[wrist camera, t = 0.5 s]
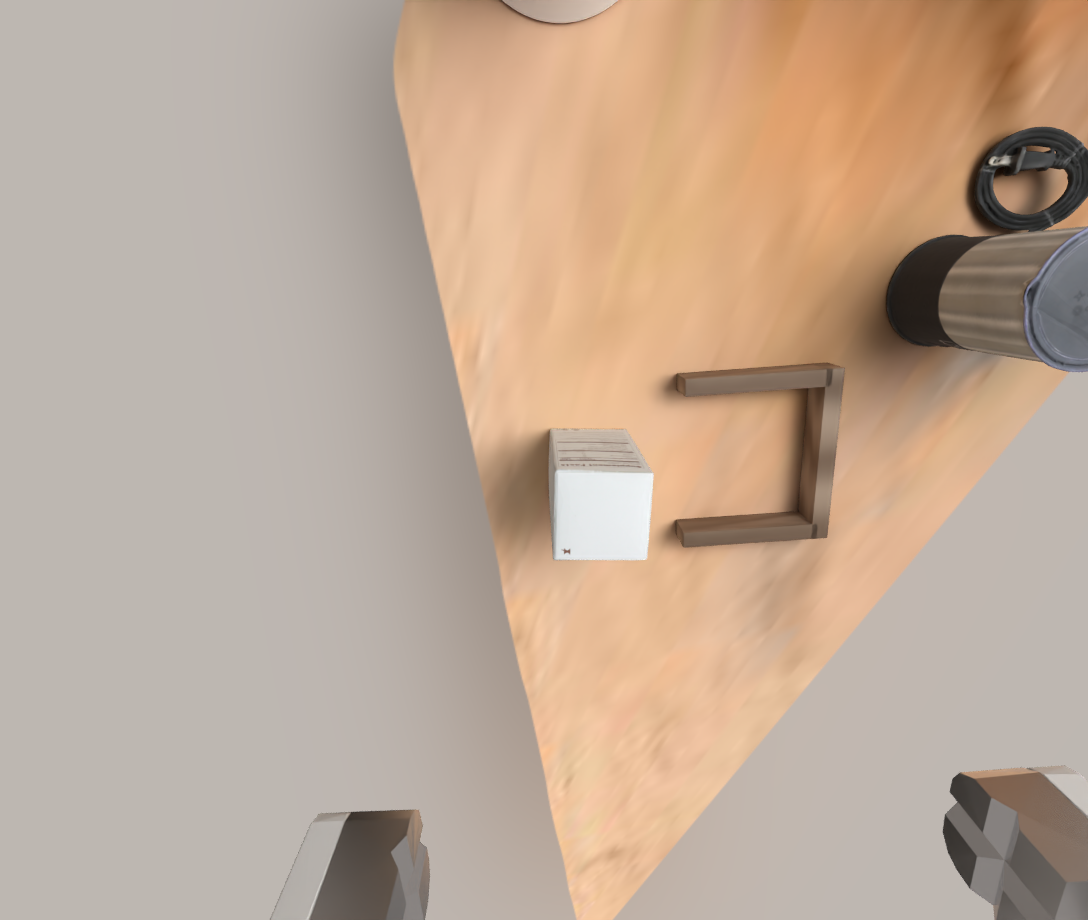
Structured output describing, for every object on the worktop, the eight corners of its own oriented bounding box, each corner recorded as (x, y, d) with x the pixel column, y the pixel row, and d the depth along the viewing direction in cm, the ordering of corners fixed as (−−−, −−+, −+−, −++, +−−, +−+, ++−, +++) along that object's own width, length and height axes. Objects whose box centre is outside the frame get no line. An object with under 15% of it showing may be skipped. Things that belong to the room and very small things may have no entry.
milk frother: (883, 355, 49) (1022, 387, 35) (880, 163, 44) (1040, 110, 30) (1046, 322, 48) (1255, 339, 34) (1061, 122, 43) (1314, 47, 29)
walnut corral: (677, 373, 49) (685, 379, 46) (827, 362, 49) (844, 367, 46) (675, 533, 54) (683, 547, 51) (811, 524, 54) (826, 537, 51)
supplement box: (623, 500, 53) (648, 564, 41) (547, 498, 53) (550, 563, 41) (628, 426, 51) (656, 472, 39) (549, 425, 51) (553, 470, 39)
